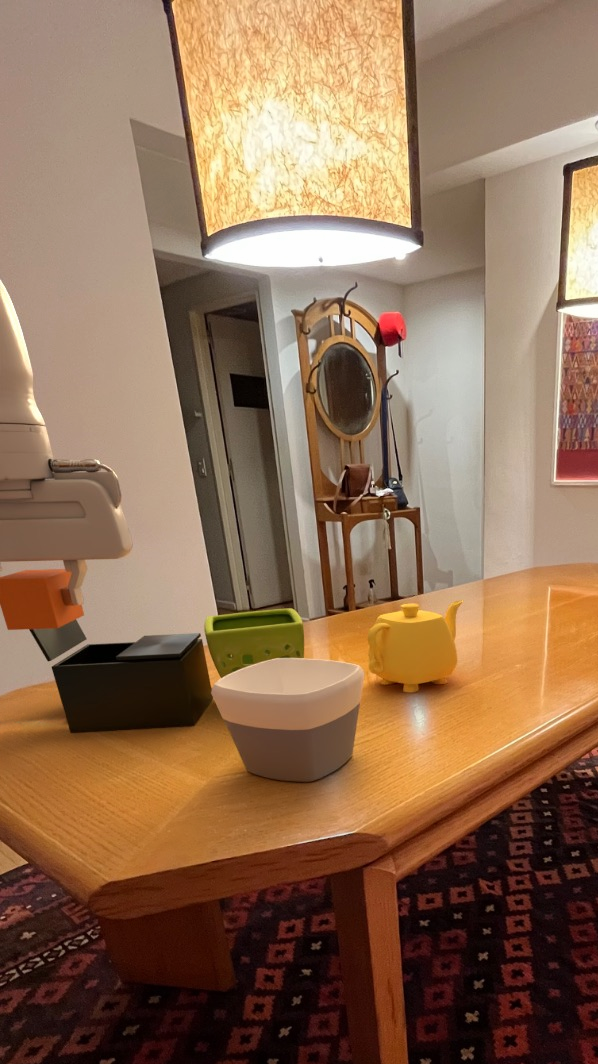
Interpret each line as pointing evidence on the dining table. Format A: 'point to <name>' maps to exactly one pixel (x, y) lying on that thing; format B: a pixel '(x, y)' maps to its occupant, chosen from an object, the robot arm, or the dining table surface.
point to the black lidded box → (135, 684)
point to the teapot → (413, 646)
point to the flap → (58, 639)
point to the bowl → (292, 715)
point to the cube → (36, 599)
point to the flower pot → (253, 638)
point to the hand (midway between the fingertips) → (43, 605)
